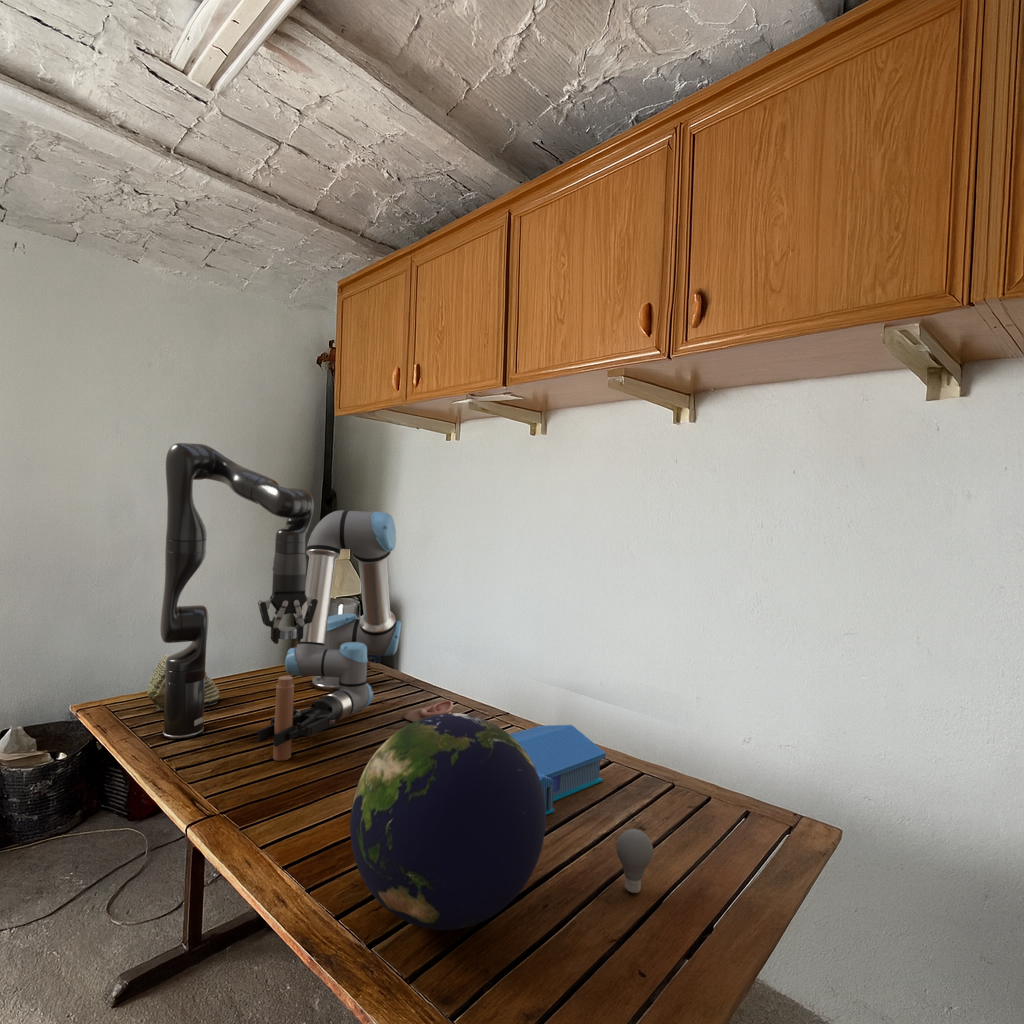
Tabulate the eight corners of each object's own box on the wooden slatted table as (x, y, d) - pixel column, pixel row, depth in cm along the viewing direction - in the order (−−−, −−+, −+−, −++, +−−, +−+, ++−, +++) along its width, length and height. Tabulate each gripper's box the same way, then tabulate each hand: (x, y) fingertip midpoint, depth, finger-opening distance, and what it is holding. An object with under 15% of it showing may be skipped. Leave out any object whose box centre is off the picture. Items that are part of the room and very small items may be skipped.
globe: (302, 941, 90) (310, 732, 90) (412, 840, 118) (419, 680, 117) (494, 1014, 79) (505, 776, 78) (565, 883, 107) (574, 707, 106)
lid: (294, 639, 150) (294, 631, 150) (273, 639, 150) (273, 630, 150) (300, 635, 155) (300, 626, 155) (279, 634, 154) (280, 626, 154)
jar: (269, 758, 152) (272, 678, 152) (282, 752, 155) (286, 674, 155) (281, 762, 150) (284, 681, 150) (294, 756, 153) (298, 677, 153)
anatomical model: (400, 707, 180) (414, 695, 191) (399, 721, 180) (414, 708, 191) (445, 712, 177) (456, 700, 189) (444, 726, 177) (456, 713, 189)
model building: (482, 842, 118) (484, 789, 118) (409, 793, 137) (411, 747, 136) (614, 785, 145) (616, 742, 145) (538, 751, 163) (540, 712, 163)
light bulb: (610, 879, 108) (613, 822, 108) (644, 879, 109) (647, 822, 109) (619, 902, 102) (622, 840, 102) (655, 901, 103) (658, 840, 103)
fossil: (144, 707, 182) (145, 655, 182) (212, 696, 194) (213, 647, 194) (151, 716, 175) (153, 662, 175) (221, 703, 188) (223, 653, 188)
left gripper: (262, 574, 145) (259, 648, 145) (324, 572, 153) (321, 642, 153) (254, 570, 151) (251, 641, 151) (314, 568, 159) (311, 636, 159)
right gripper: (356, 728, 166) (295, 761, 144) (303, 717, 172) (237, 747, 151) (358, 700, 166) (297, 728, 144) (304, 690, 172) (238, 716, 151)
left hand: (287, 641), depth 152 cm, fingers closed on lid, 4 cm apart
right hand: (267, 738), depth 148 cm, fingers closed on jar, 4 cm apart
